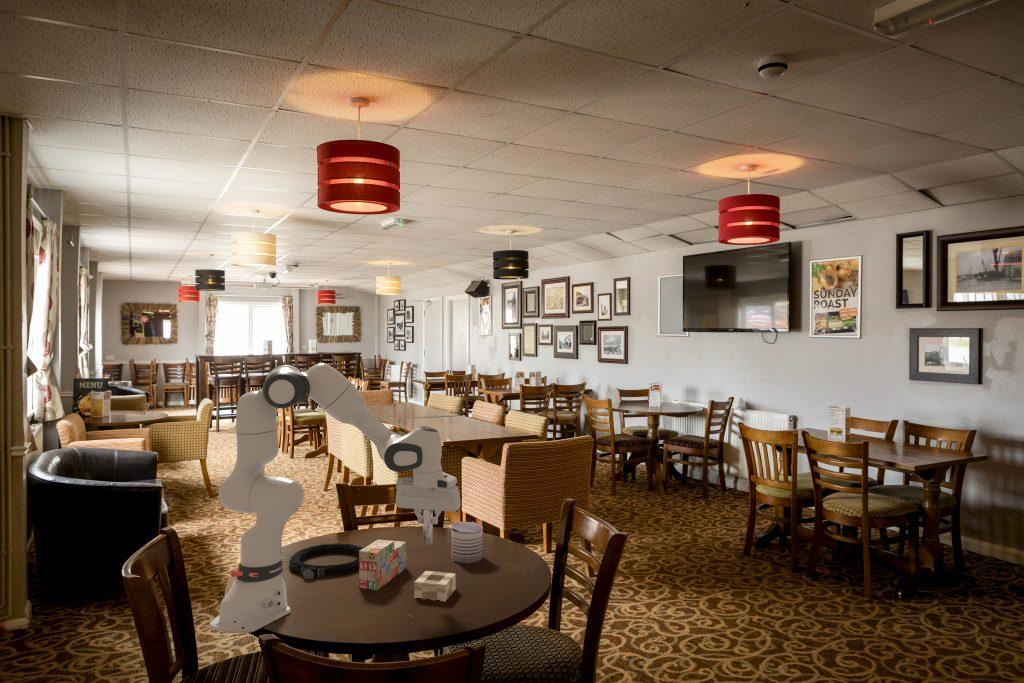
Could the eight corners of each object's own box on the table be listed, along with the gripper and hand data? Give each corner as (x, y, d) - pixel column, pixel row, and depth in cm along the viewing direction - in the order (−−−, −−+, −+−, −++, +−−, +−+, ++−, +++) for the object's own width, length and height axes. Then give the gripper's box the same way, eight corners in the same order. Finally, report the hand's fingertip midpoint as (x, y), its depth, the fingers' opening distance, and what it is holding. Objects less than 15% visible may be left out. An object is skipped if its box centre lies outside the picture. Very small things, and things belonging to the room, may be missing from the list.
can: (466, 551, 247) (466, 519, 247) (489, 558, 240) (489, 524, 240) (444, 559, 238) (444, 525, 238) (467, 566, 231) (467, 531, 231)
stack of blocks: (390, 566, 230) (390, 531, 230) (406, 568, 228) (407, 533, 228) (358, 588, 210) (358, 550, 210) (376, 591, 208) (376, 552, 208)
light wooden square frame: (445, 601, 200) (445, 584, 200) (414, 598, 202) (414, 581, 202) (455, 589, 210) (455, 573, 210) (425, 586, 212) (425, 570, 212)
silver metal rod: (431, 544, 204) (430, 499, 203) (421, 544, 204) (421, 499, 204) (434, 541, 207) (434, 497, 206) (425, 540, 207) (424, 496, 207)
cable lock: (382, 544, 244) (347, 572, 214) (381, 554, 244) (347, 584, 214) (312, 539, 249) (269, 566, 219) (312, 549, 249) (269, 577, 219)
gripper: (392, 479, 204) (392, 523, 204) (455, 483, 199) (455, 528, 200) (400, 474, 210) (400, 517, 210) (461, 478, 205) (462, 522, 206)
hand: (427, 523), depth 205 cm, fingers closed on silver metal rod, 3 cm apart
